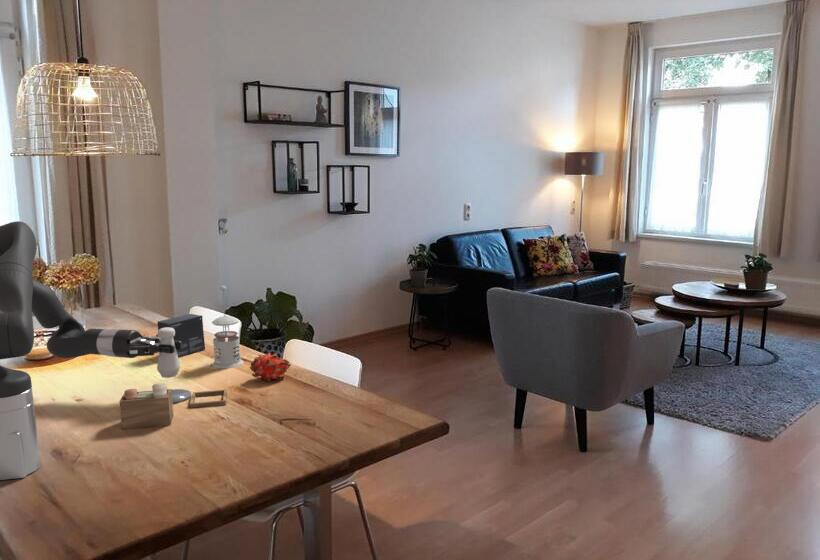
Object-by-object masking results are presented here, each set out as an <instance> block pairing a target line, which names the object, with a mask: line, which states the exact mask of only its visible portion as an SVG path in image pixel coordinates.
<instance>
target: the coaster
mask: <svg viewBox="0 0 820 560" xmlns="http://www.w3.org/2000/svg"><path fill="white" fill-rule="evenodd" d="M191 397H192V393H191V391H190V390H188V389H184V388H183V389H182V388H181V389H179V388H178V389H177V388H176V389H172V402H173V405H174V404H179V403H183V402H185V400H186V401H187V400H189V399H191Z"/></svg>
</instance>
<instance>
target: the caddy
mask: <svg viewBox="0 0 820 560" xmlns="http://www.w3.org/2000/svg"><path fill="white" fill-rule="evenodd" d="M151 387H152V390H146V391H145V390H143V391H138V390H137V389H136V388H131V389H126V390H124V393H123V394H122V396H121V398H120V400H119V411H120V412H119V413H120V422H121V430H130V429H140V428H141V429H142V428H149V427H151V428H152V427H161V426H162V427H163V426H170V425H172V421H173V418H174V404H173V402H172V390H173V389H172V388H171V389H170V388H169V389H167V387H168V386H167V383H164V382H159V383H155V384H153V385H152V386H151Z"/></svg>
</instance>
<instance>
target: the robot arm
mask: <svg viewBox="0 0 820 560" xmlns="http://www.w3.org/2000/svg"><path fill="white" fill-rule="evenodd" d="M37 244H38V243H37V239H36V236H35V233H34V231H33V229H32V228H31V227H30V226H29V225H28V224H27V223H25V222H23V221H20V220H19V221H12V222H8V223H5V224H3V225H0V311H1V312H0V360H7V359H15V358H16V359H17V358H21V357H24V356H27V355H29V354H30V353H31V351H32V349H33V348H34V343H35V330H34V328H35V327H34V320H33V315H34V317H35V318H36V320H37V322H38V323H39V325H40V326H41V327H42V328H44V329H48V330H49V329H54V328H56V327H58V328H57V330H56V331H55V332H54V333H53V334H52V335H51V336H50V337H49V338H48V340H47V342H46V349H47V351H48V352H49V353H50V354H51V355H52V356H54V357H57V358H59V359H71V358H78V357H84V356H88V355H98V356H107V357H111V358H112V357H114V358H122V359H123V358H125V359H135V358H137V357H147V356H149V357H150V356H155V354H158V355H159V353H160V352H161V353H162V352H164V353H174V352H175V349H174V345H170V344H167V345H165V344H160V341H161V338H159V337H158V333H157V334H156V335H155V336H150V335H144V336H143V335H142V334H141V333H140V332H139V331H138V330H135V329H121V328H119V329H118V328H108V329H107V328H88V329H87V330H86V329H85V327H84V326H83V325H82V324H81V322H79V321H78V320H77V319H75V317H73V315H71V314H70V313H69V312H68V311H67V310H66V309H65V307H64V305H63V304H62V302H61V300H60V299H59V297H58V295H57V294H56V293H55V292H54V290H53V289H51V288H50V287H49V286H47V285H46V284H44V283H42V282H40V281H38V280H36V279H34V274H33V272H34V262H35V259H36V255H37V246H38V245H37ZM174 343H175V347H176V349H177V350H180V349H181V348H182V342H181V341H174ZM32 384H33V383H32V377H31V375H30V374H29V373H28V372H26V371H23V370H17V369H15V368H14V369H13V368H8V367H6V366H3V365H1V364H0V481H4V480H11V479H13V480H14V479H24V478H26V477H27V475H29V474H32V473H33V472H36V471H37V470H38V469H39V468H40V467H41V466H42V459H41V452H40V444H39V436H38V428H37V427H38V426H37V420H36V418H37V417H36V412H35V411H36V410H35V403H34V394H33V393H34V392H33V386H32Z"/></svg>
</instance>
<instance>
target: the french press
mask: <svg viewBox="0 0 820 560" xmlns="http://www.w3.org/2000/svg"><path fill="white" fill-rule="evenodd" d="M219 290H220V291H222V299H223V302H225V293H224V292H225V291H224V290H227V287H226V285H221V286H220V287H219ZM225 307H226V306H225V303H223V313H224V314H223V316H222V315H221V316H219V317H216V318H215V319H214V320H212V321H211V324H212V325H214V326H216V327H217V326H219V327H222V330H223V331H218V332H216V333H214V335H213V337H214V338H213V339H212V340H213V341H212V342H213V356H214V361H213V363H212V364H211V366H212V367H213V368H215V369H233V368H237V367H240V366H242V365H243V364H244V360H243V359H241V347H240V346H241V345H240V337H239V336H237V335H239V334H238V331H235V330H230V326H233V325H236V324H238V323H239V321H240V320H239V319H238V318H236V317H233V316H229V315H226V309H225ZM227 328H228V330H227ZM226 339H227V341H226Z"/></svg>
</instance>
